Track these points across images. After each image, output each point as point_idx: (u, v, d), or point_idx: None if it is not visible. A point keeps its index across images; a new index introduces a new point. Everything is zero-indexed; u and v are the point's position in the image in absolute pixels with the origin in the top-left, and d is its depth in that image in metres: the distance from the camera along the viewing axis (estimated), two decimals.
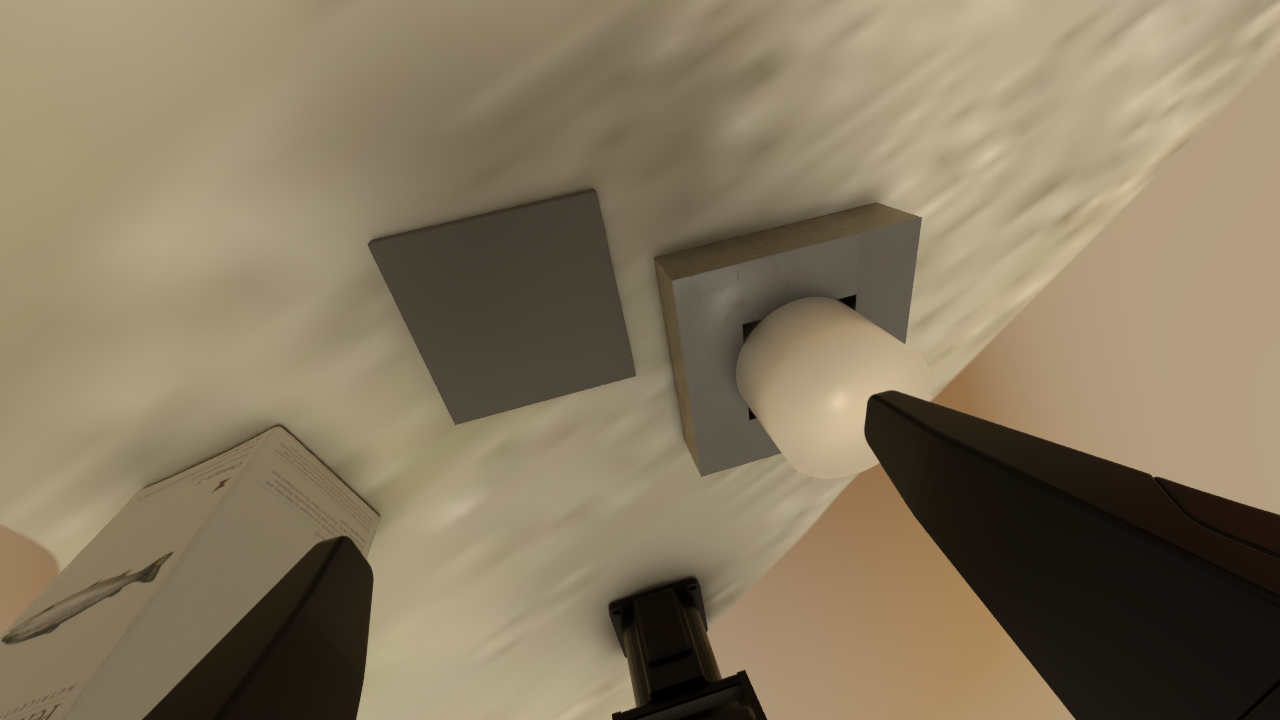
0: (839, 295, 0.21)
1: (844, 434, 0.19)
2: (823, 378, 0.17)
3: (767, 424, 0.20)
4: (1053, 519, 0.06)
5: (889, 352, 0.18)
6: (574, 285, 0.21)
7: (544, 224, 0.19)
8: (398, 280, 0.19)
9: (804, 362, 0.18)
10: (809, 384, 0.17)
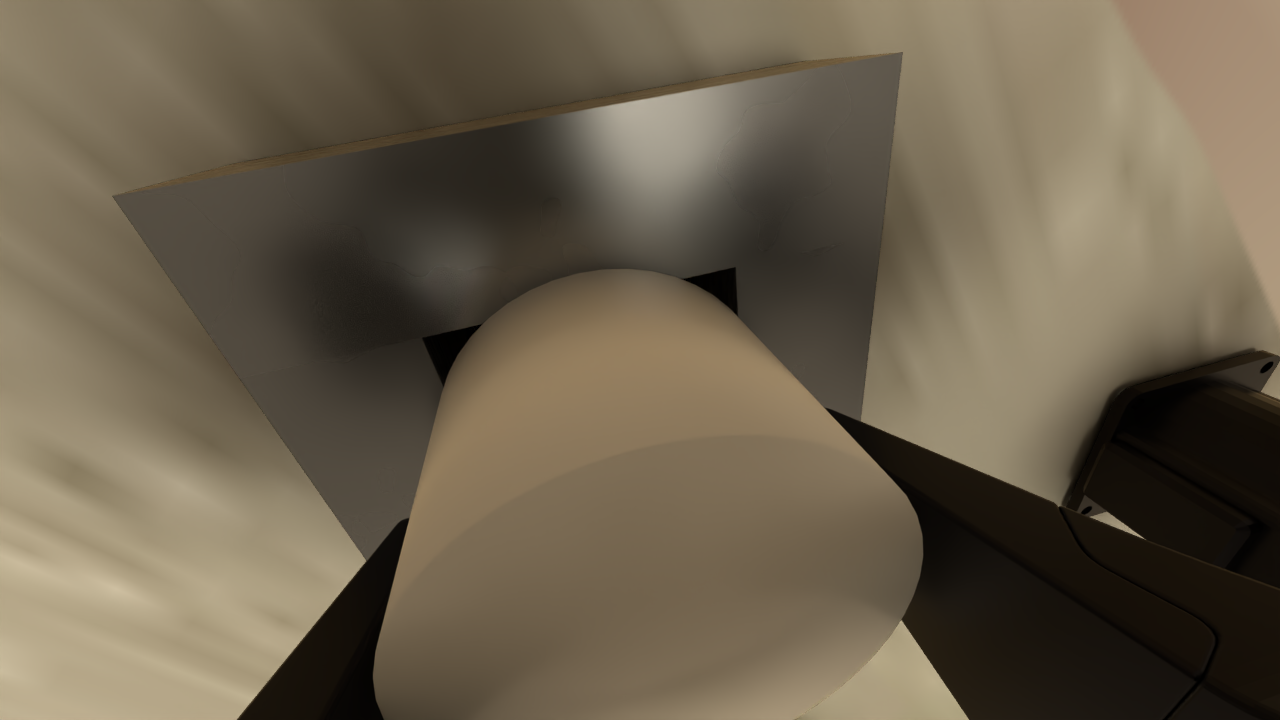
0: (430, 381, 0.08)
1: (736, 655, 0.06)
2: None
3: None
4: (958, 548, 0.06)
5: (412, 672, 0.05)
6: None
7: None
8: None
9: None
10: None
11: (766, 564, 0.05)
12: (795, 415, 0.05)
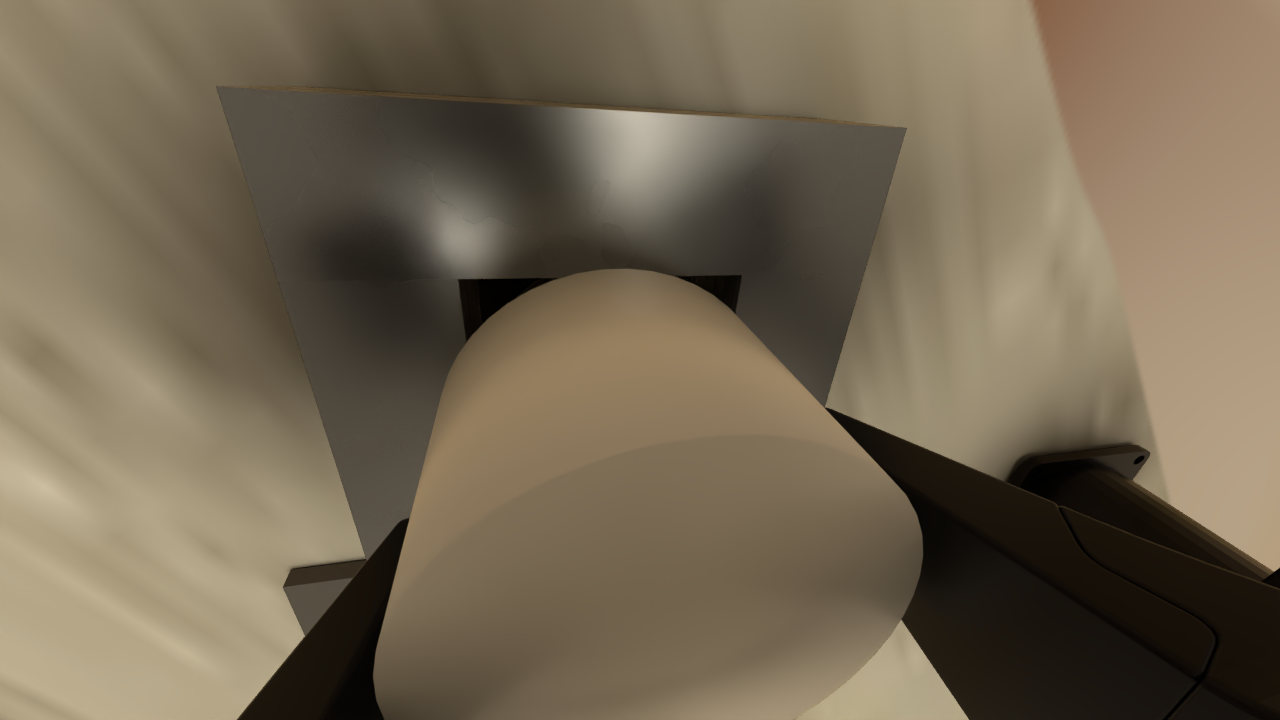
0: (454, 321, 0.09)
1: (736, 655, 0.06)
2: None
3: None
4: (958, 548, 0.06)
5: (412, 672, 0.05)
6: None
7: None
8: None
9: None
10: None
11: (767, 564, 0.05)
12: (793, 415, 0.05)
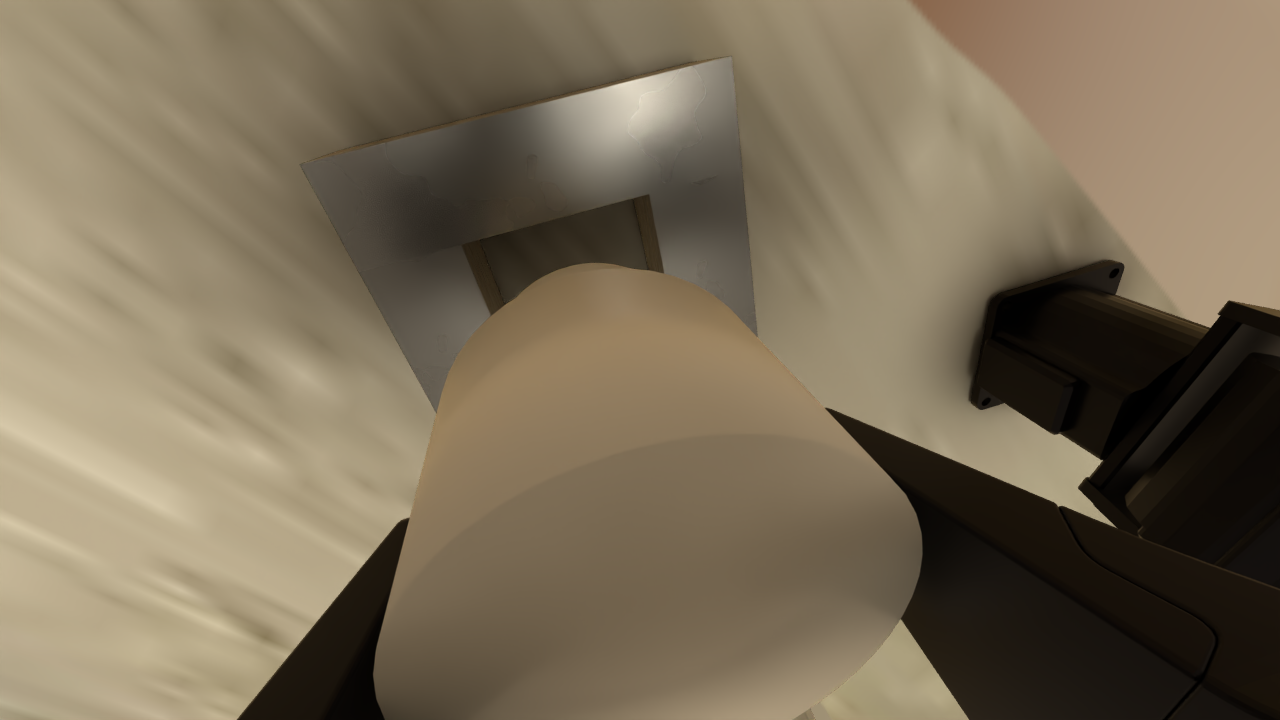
0: (467, 273, 0.14)
1: (735, 654, 0.06)
2: None
3: None
4: (959, 548, 0.06)
5: (412, 670, 0.05)
6: None
7: None
8: None
9: None
10: None
11: (766, 563, 0.05)
12: (793, 415, 0.05)
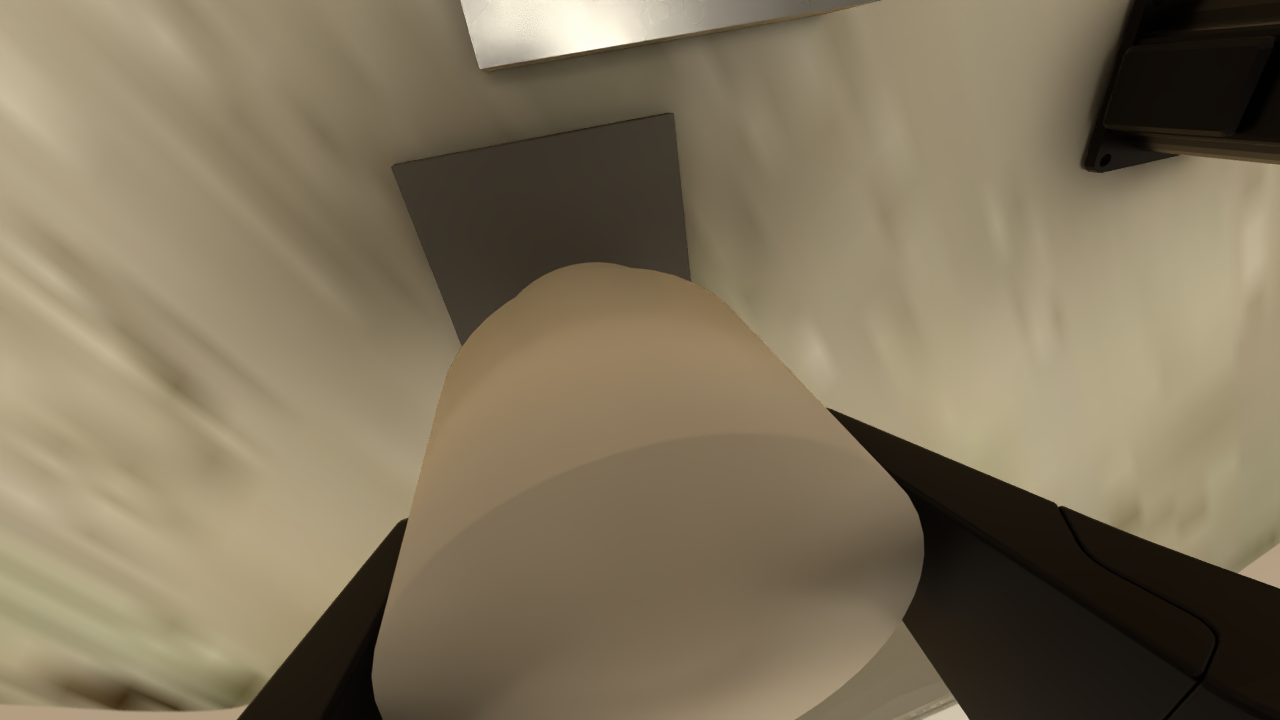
0: None
1: (736, 655, 0.06)
2: None
3: None
4: (958, 548, 0.06)
5: (411, 672, 0.05)
6: (525, 201, 0.16)
7: (444, 236, 0.16)
8: None
9: None
10: None
11: (767, 564, 0.05)
12: (794, 413, 0.05)
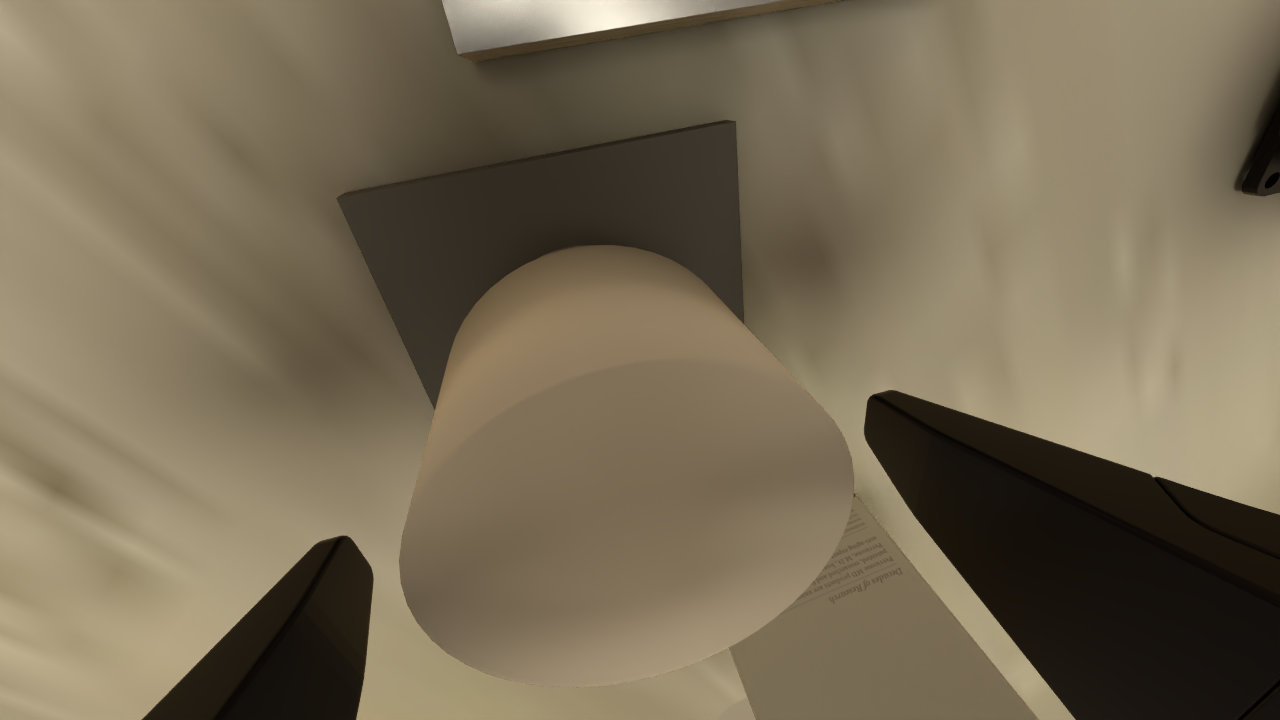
0: None
1: (699, 562, 0.07)
2: (514, 659, 0.07)
3: None
4: (1053, 519, 0.06)
5: (430, 559, 0.06)
6: (528, 243, 0.12)
7: (416, 290, 0.12)
8: None
9: None
10: (532, 674, 0.08)
11: (720, 477, 0.06)
12: (739, 351, 0.06)
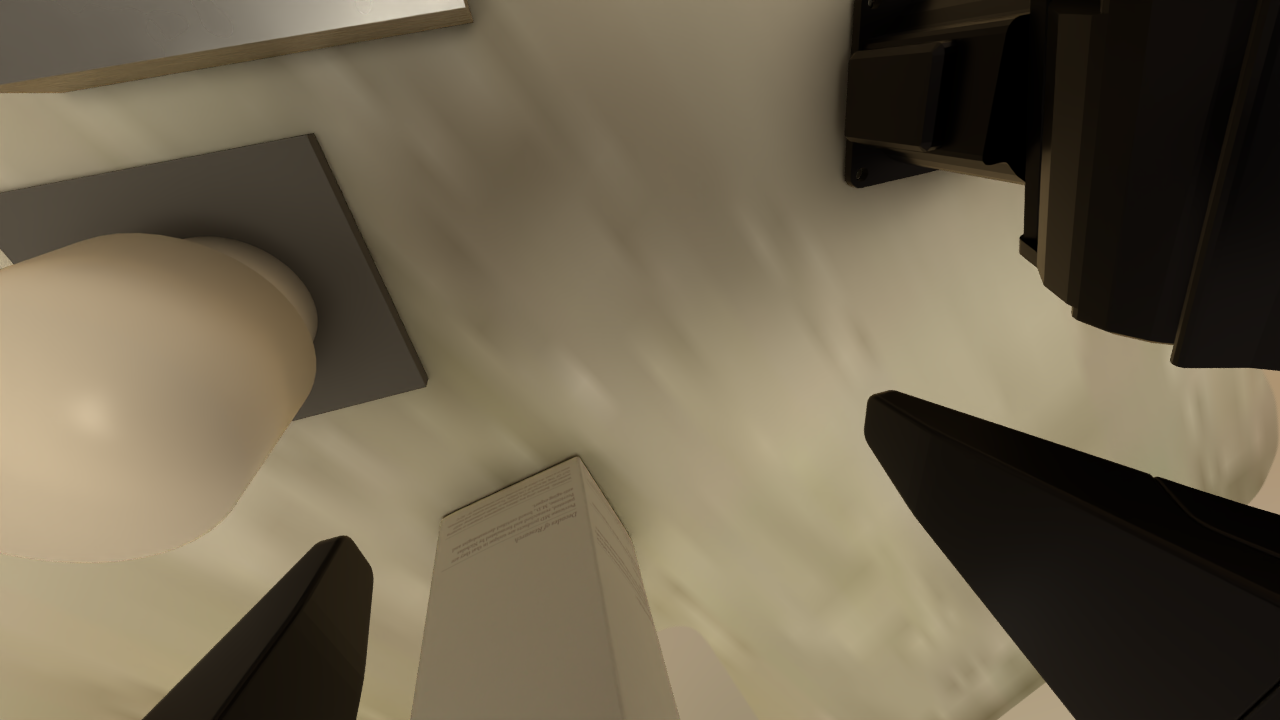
0: None
1: (109, 458, 0.10)
2: None
3: None
4: (1052, 519, 0.06)
5: None
6: None
7: None
8: None
9: None
10: (14, 548, 0.10)
11: (73, 389, 0.09)
12: (57, 298, 0.09)
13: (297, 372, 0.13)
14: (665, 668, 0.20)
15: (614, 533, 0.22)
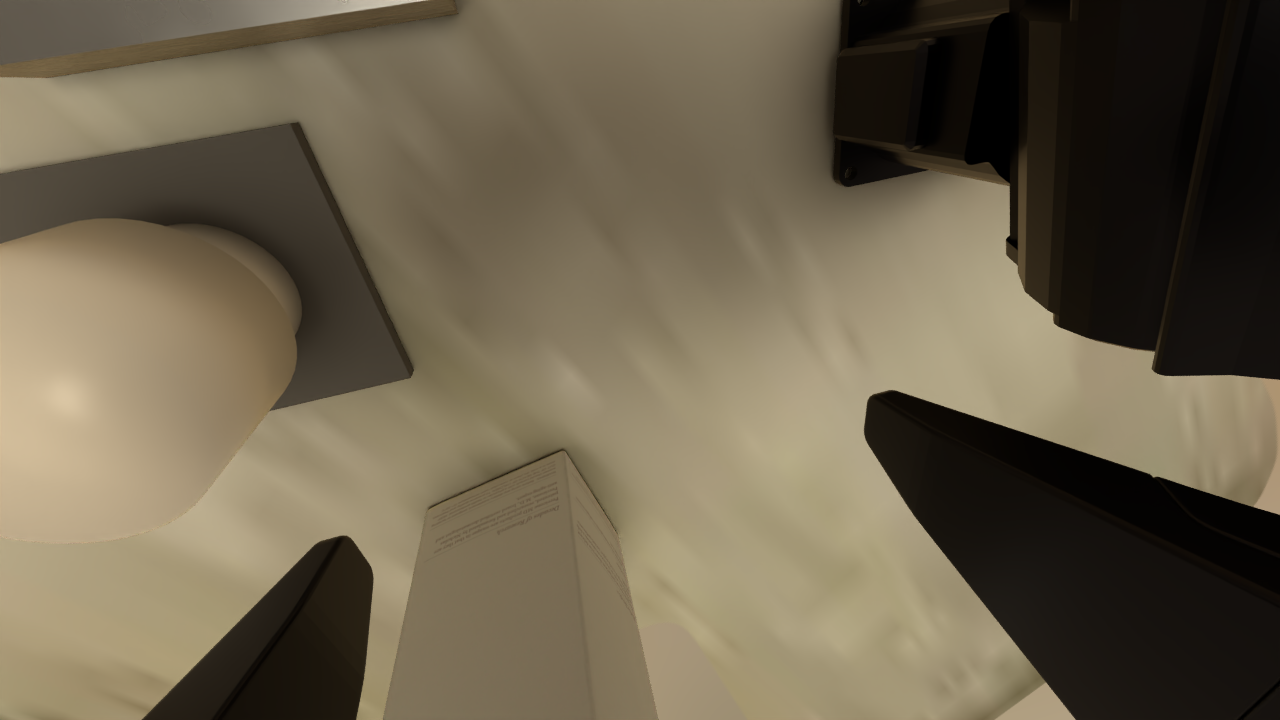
0: None
1: (81, 440, 0.10)
2: None
3: None
4: (1053, 519, 0.06)
5: None
6: None
7: None
8: None
9: None
10: None
11: (43, 370, 0.09)
12: (27, 281, 0.09)
13: (275, 360, 0.13)
14: (645, 663, 0.20)
15: (598, 528, 0.22)
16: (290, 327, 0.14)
